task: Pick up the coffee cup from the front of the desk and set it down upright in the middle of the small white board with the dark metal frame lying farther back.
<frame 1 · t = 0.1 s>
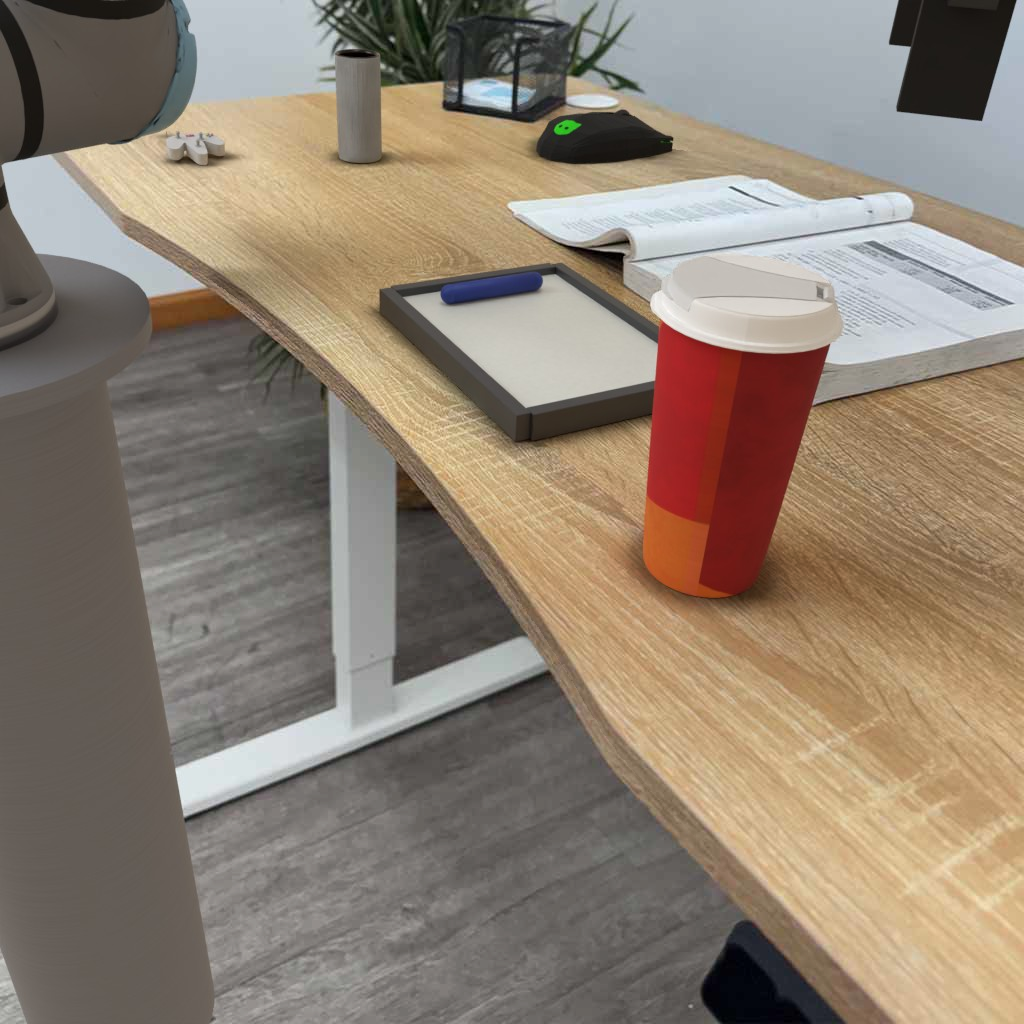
hand: (928, 77, 41), 24 cm above the table, tool pointing down, fingers open, 13 cm apart
whiteboard: (541, 351, 74), on the table
coffee cup: (698, 564, 54), on the table
game controller: (188, 152, 111), on the table
grey cylindrical container: (360, 159, 112), on the table
computer mouse: (596, 148, 121), on the table
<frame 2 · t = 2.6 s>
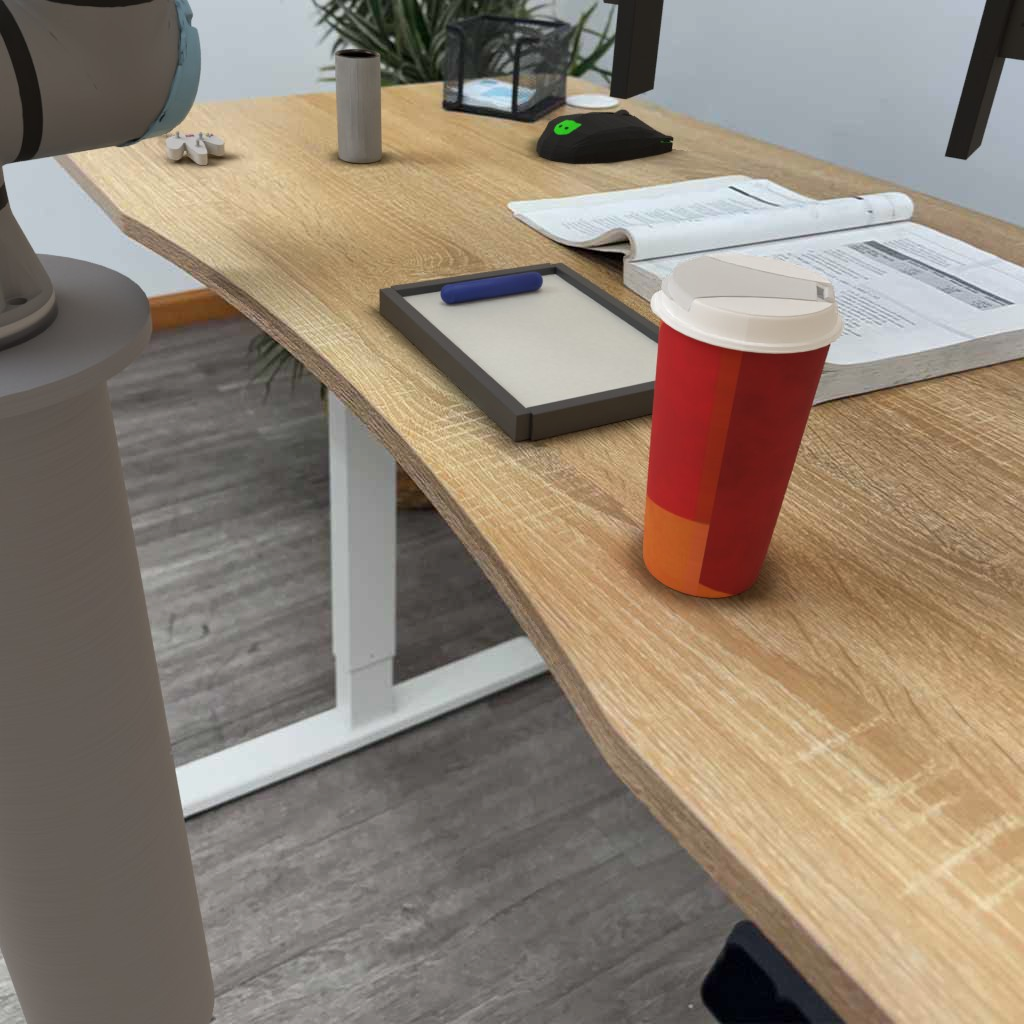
hand: (786, 121, 42), 22 cm above the table, tool pointing down, fingers open, 13 cm apart
nothing on the table moved.
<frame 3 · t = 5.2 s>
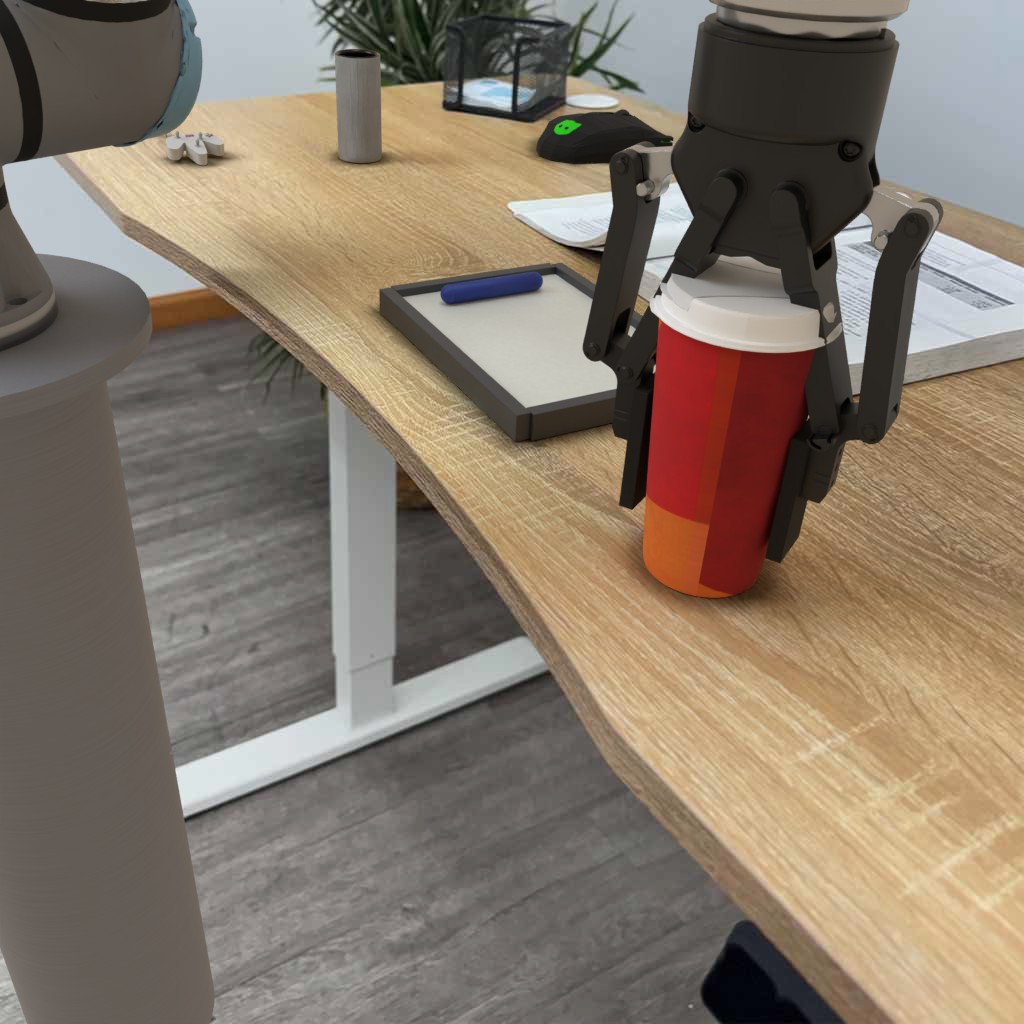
hand: (707, 520, 53), 3 cm above the table, tool pointing down, fingers closed on coffee cup, 7 cm apart
coffee cup: (698, 565, 54), on the table, touching gripper
everything else where it was.
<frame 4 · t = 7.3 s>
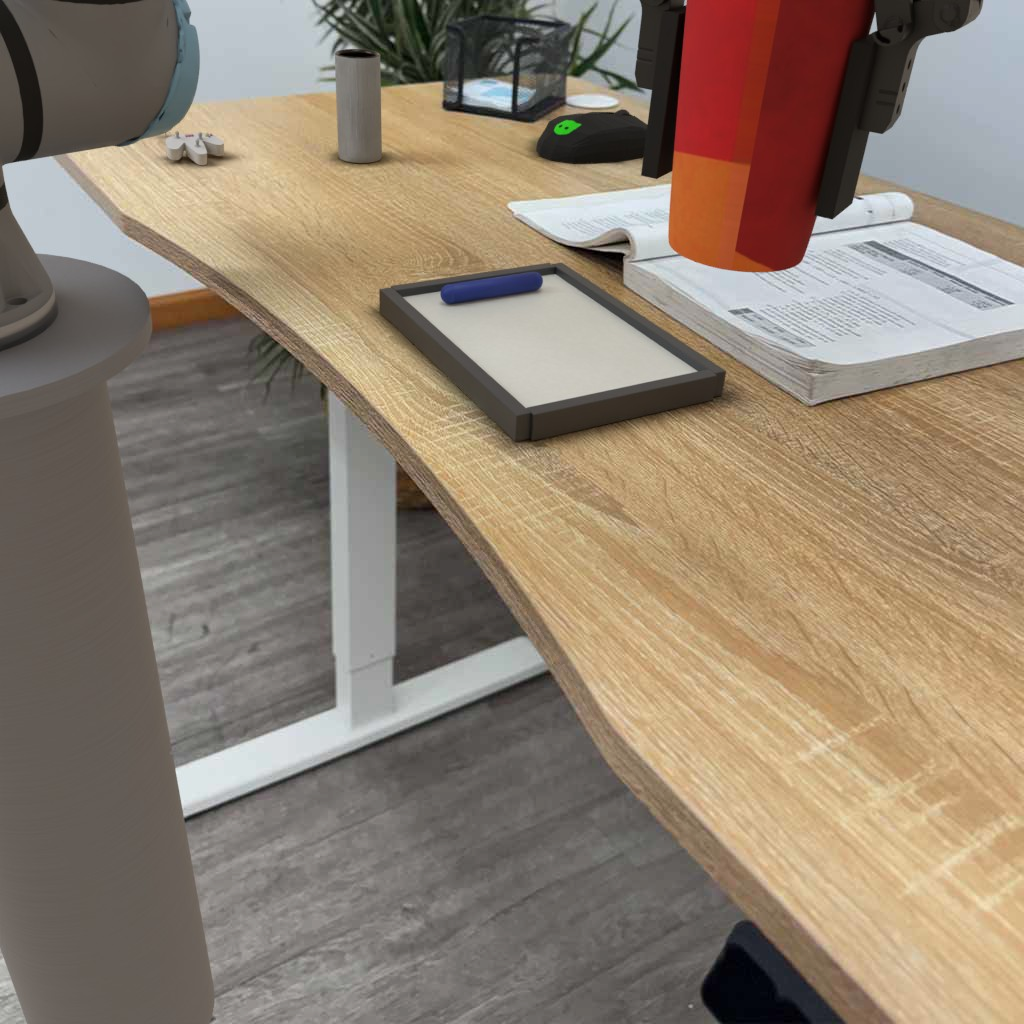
hand: (745, 188, 45), 19 cm above the table, tool pointing down, fingers closed on coffee cup, 7 cm apart
coffee cup: (732, 251, 47), point 16 cm above the table, touching gripper
everything else where it was.
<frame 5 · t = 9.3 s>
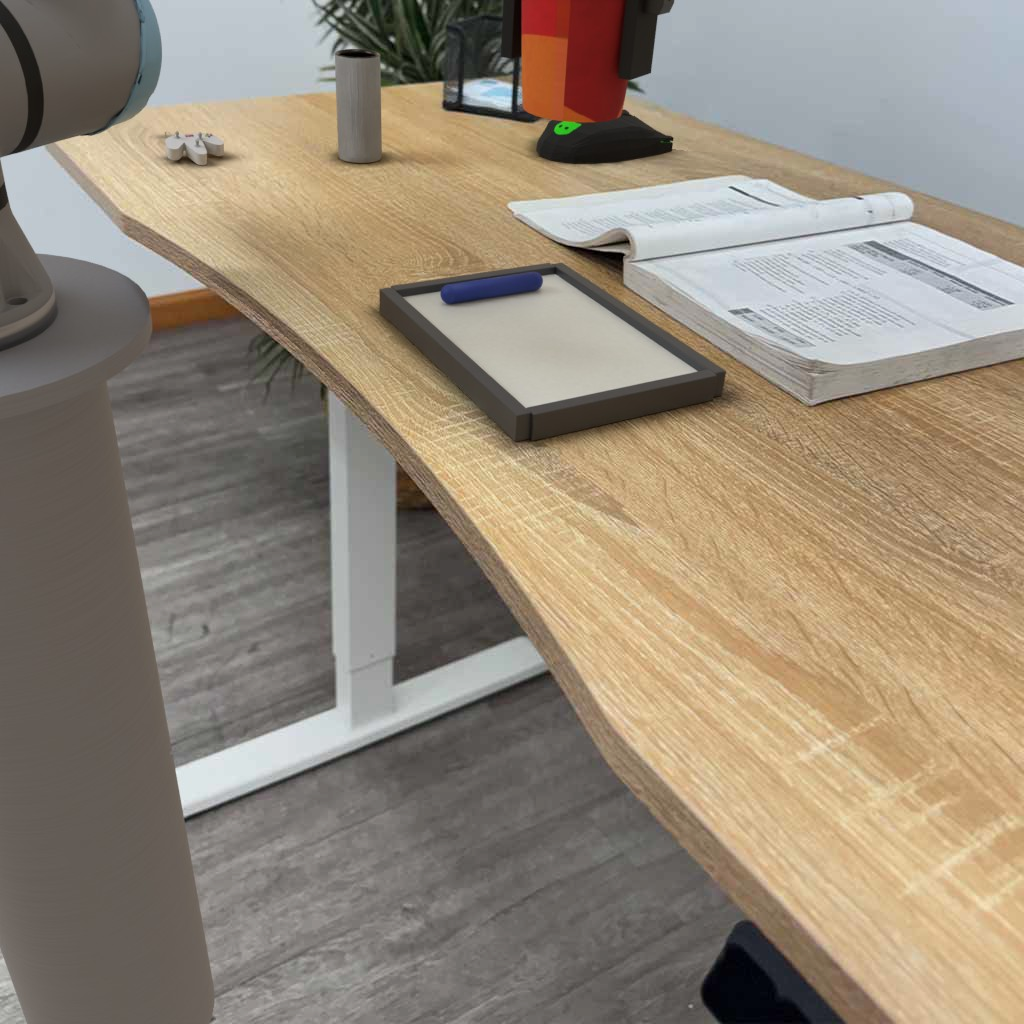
hand: (575, 64, 62), 19 cm above the table, tool pointing down, fingers closed on coffee cup, 7 cm apart
coffee cup: (570, 113, 63), point 17 cm above the table, touching gripper
everything else where it was.
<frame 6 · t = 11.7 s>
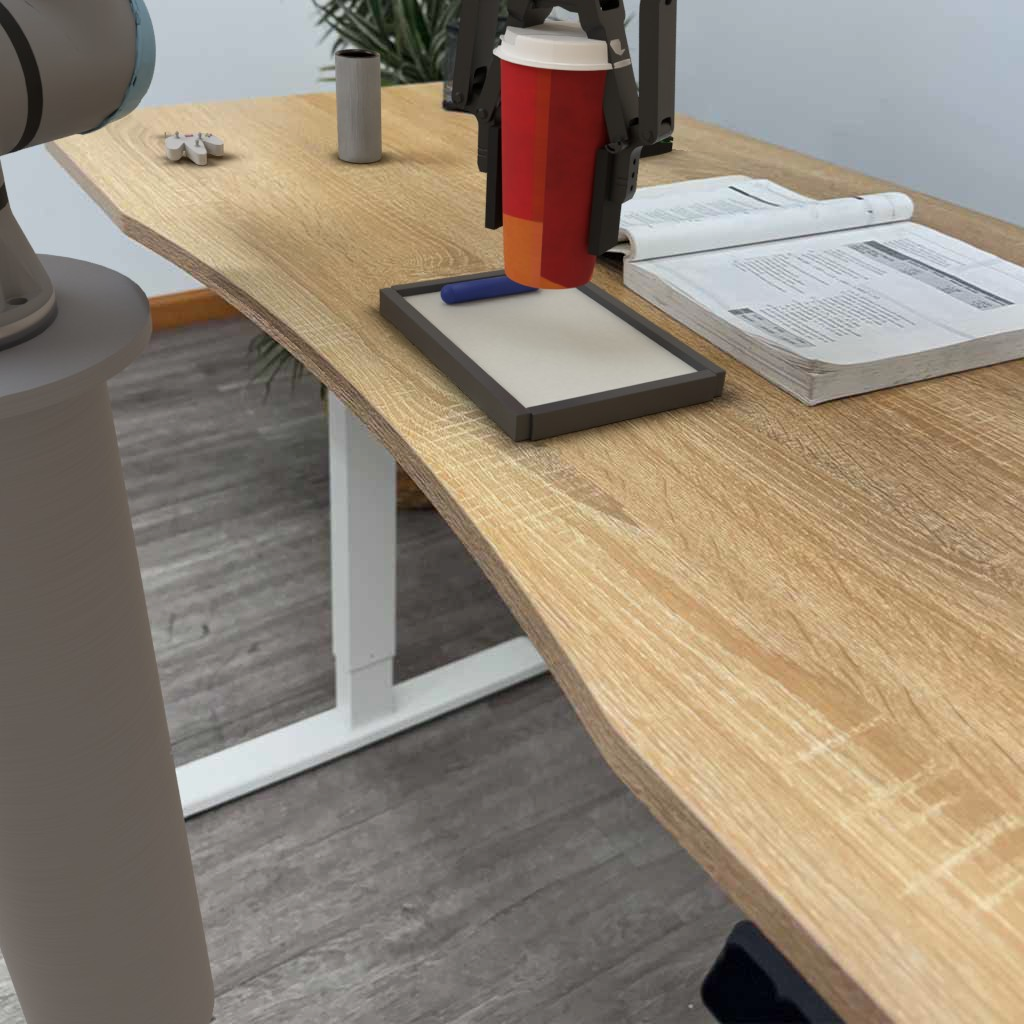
hand: (550, 235, 70), 8 cm above the table, tool pointing down, fingers closed on coffee cup, 7 cm apart
coffee cup: (547, 275, 71), point 6 cm above the table, touching gripper
everything else where it was.
when the fingers open (4 cm above the table, at t = 13.3 s): coffee cup stays where it is, resting on whiteboard.
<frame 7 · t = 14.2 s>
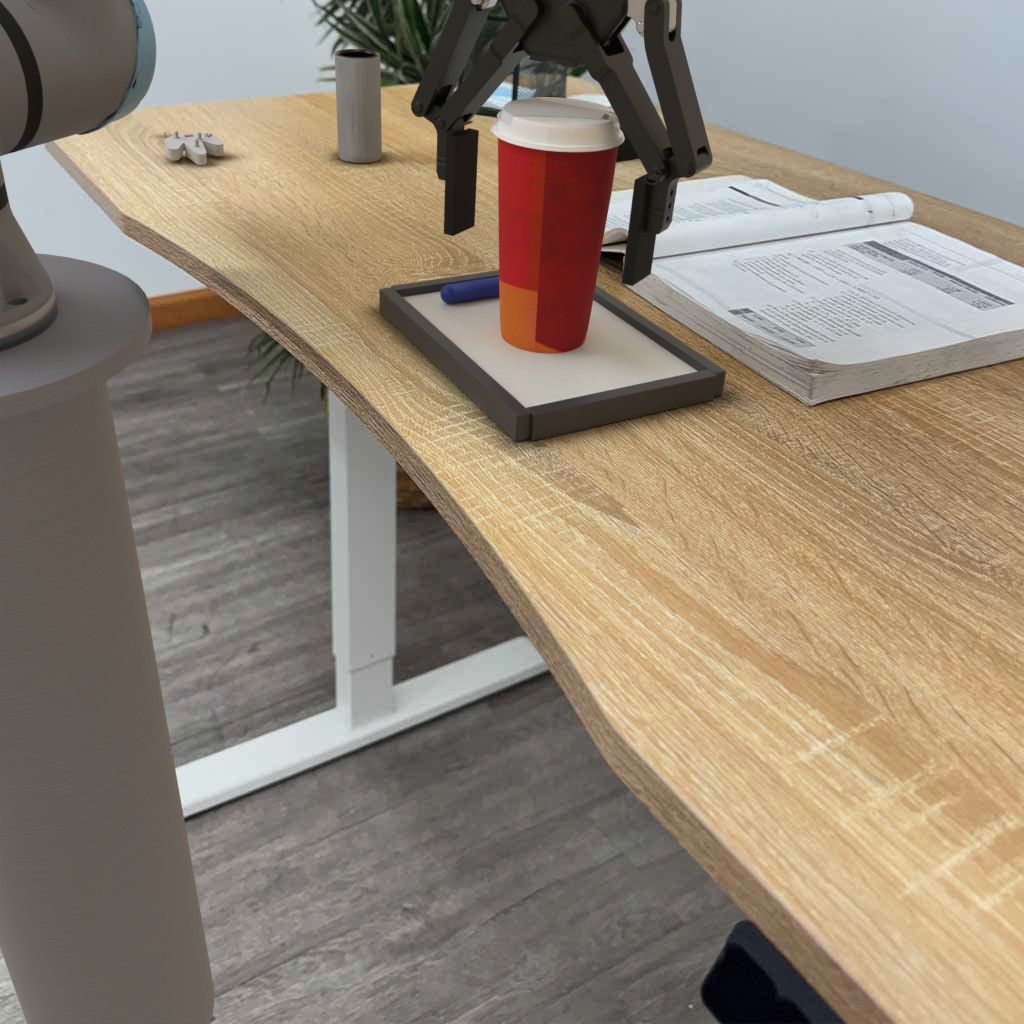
hand: (544, 254, 70), 7 cm above the table, tool pointing down, fingers open, 13 cm apart
coffee cup: (542, 337, 74), point 1 cm above the table, touching whiteboard
everything else where it was.
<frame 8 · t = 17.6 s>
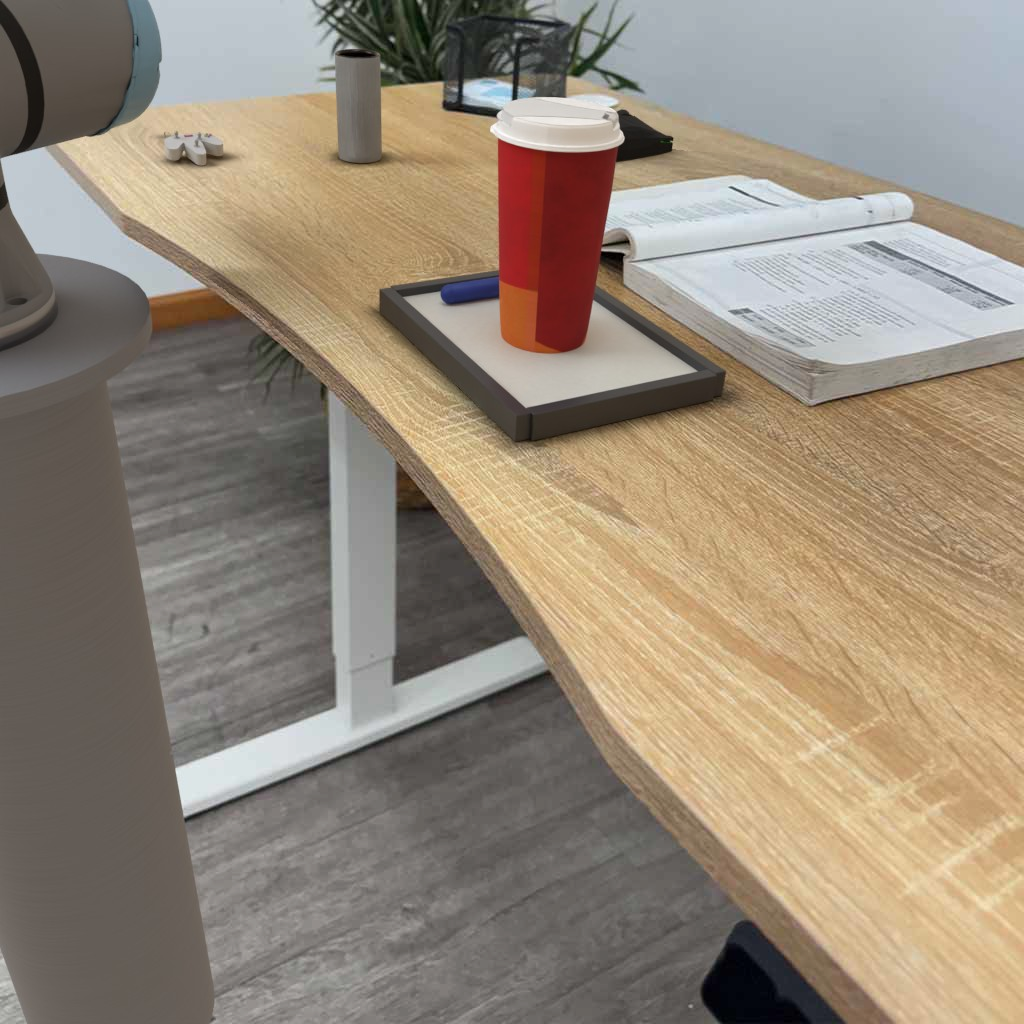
nothing on the table moved.
at the end: coffee cup inside the target area on the whiteboard (0.0 cm from its centre), point 1.0 cm above the whiteboard's base; coffee cup tilted 0°; the gripper is holding nothing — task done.
